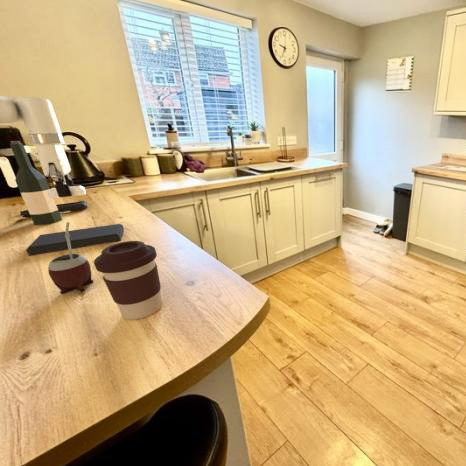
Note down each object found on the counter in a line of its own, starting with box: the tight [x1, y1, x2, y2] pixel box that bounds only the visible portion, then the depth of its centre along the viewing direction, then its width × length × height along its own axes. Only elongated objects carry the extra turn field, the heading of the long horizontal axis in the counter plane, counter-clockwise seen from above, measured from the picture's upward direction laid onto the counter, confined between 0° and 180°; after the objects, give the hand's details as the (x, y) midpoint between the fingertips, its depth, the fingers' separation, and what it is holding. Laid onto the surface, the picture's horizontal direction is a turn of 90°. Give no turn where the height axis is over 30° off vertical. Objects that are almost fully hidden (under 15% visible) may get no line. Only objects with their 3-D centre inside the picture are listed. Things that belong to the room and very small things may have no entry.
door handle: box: [19, 200, 88, 219], centre depth 124 cm, size 3×20×16 cm
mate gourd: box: [47, 221, 94, 295], centre depth 68 cm, size 8×8×15 cm
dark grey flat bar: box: [26, 223, 125, 257], centre depth 95 cm, size 22×12×2 cm, turn 122°
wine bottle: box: [9, 140, 63, 226], centre depth 107 cm, size 8×8×30 cm
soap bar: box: [47, 185, 87, 199], centre depth 99 cm, size 5×9×3 cm, turn 128°
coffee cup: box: [93, 240, 163, 321], centre depth 59 cm, size 10×10×15 cm
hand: (67, 194), depth 99 cm, fingers closed on soap bar, 5 cm apart
